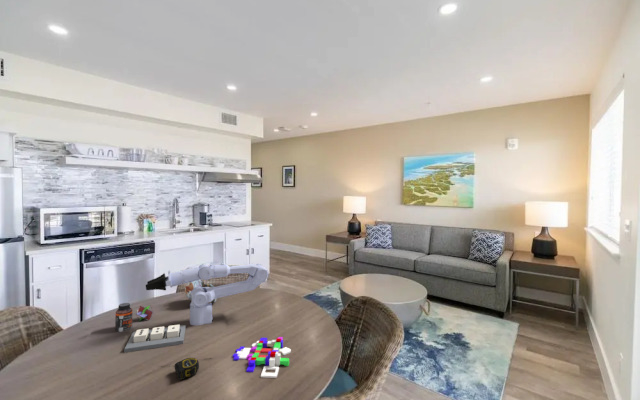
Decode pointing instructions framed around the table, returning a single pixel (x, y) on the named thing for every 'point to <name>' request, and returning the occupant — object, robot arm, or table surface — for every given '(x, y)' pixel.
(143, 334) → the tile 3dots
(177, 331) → the tile
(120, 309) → the supplement bottle
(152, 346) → the keypad board
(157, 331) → the tile
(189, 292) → the lucky cat figurine
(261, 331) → the table surface
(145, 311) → the geometric puzzle
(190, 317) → the robot arm
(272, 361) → the building block set
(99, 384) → the table surface
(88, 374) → the table surface
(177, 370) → the tape measure
